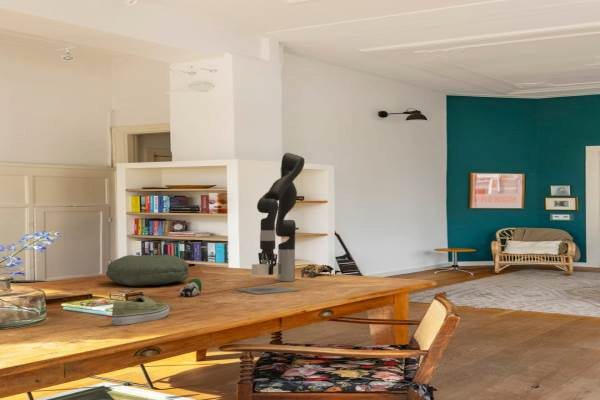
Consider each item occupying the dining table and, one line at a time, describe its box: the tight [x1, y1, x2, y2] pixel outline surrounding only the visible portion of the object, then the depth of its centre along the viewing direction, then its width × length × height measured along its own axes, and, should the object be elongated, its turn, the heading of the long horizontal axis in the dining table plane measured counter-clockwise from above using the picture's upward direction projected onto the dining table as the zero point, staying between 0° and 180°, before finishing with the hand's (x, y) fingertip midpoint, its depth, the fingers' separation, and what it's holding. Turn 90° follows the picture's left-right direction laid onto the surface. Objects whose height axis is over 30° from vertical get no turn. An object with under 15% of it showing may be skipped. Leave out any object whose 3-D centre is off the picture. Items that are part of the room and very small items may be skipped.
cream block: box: [251, 262, 282, 276], centre depth 359 cm, size 5×5×14 cm
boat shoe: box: [110, 295, 170, 326], centre depth 275 cm, size 10×29×9 cm, turn 154°
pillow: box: [105, 254, 190, 287], centre depth 388 cm, size 43×15×41 cm
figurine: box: [300, 263, 334, 278], centre depth 430 cm, size 19×6×30 cm
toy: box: [179, 278, 203, 298], centre depth 343 cm, size 9×7×15 cm
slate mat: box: [235, 285, 300, 296], centre depth 360 cm, size 20×24×1 cm
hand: (267, 274), depth 360 cm, fingers closed on cream block, 5 cm apart
